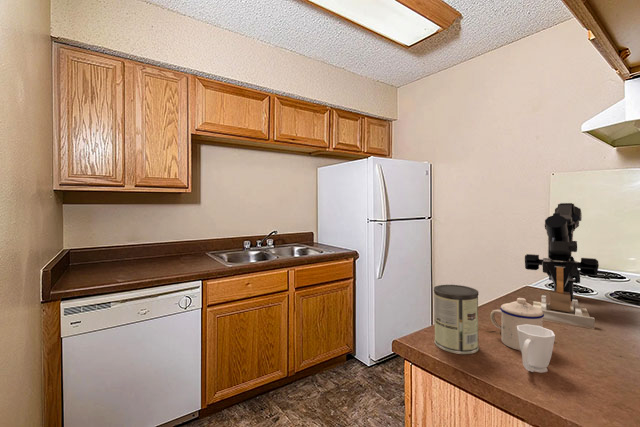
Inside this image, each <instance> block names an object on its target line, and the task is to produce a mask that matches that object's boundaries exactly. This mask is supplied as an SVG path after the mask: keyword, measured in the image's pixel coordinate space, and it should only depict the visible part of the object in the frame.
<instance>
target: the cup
mask: <svg viewBox="0 0 640 427" xmlns="http://www.w3.org/2000/svg"><path fill="white" fill-rule="evenodd" d="M517 331H518V336H519V343H520V349H521V351H520V353H521V357H522V358H521V359H522V365H523V368H524V369H525V370H526V371H529V372H531V373H533V372H534V373H535V372H536V373H540V374H541V373H547V372H548V368H547V367H548V366H549V365H550V361H551V359H552V356H553V355H552V354H553V350H554V344H555V340H556V339H555V338H556V335H555V332H554V331H553V330H551V329H549V328H546V327H541V326H535V325H528V324H525V325H518V326H517Z"/></svg>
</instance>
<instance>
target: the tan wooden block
mask: <svg viewBox="0 0 640 427" xmlns="http://www.w3.org/2000/svg"><path fill="white" fill-rule="evenodd" d="M571 300H572V299H571V295H570V292H563V267H557V291H554V289H551V290H549V304H550V309H554V310H561V311H567V312H571V307H572V305H571Z"/></svg>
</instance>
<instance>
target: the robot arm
mask: <svg viewBox="0 0 640 427" xmlns="http://www.w3.org/2000/svg"><path fill="white" fill-rule="evenodd" d="M582 217H583V216H582V209H581V208H580V207H578V206H576V205H575V203H572V202H560V203H558V204H557V207H555V208H554V213H553V214H552V215H550V216H548V217H546V218H545V219H544V229H545V231H546V234H547V239H548V240H547V241H548V243H547V244H548V246H547V257H543V258H542V259H540V254H533V253H532V254H531V253H527V254H525V255H524V267H525V269H526V270H527V271H529V270H530V271H538V270H539V269H540V266H542V273H544V274H547V276H548V280H549V281H552V283H553V290H554V291H557V267H563V292H570V295H571V300H572V299H574V300H576V297H575V294H574V284H580V283H581V274H582V275H585V276H595V277H596V276H597V275H598V271H599V265H600V264H599V260H598V259H597V258H591V257H581V258H580V262H579V261H576V260H575V257H574V256H572V253H577V252H578V241H577V240H574V232H575V230H576V229H577V228H579V226H580V222H581V221H582Z"/></svg>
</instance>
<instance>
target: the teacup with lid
mask: <svg viewBox="0 0 640 427" xmlns="http://www.w3.org/2000/svg"><path fill="white" fill-rule="evenodd" d="M496 313H497V314H501V320H500V322H501V325H500V324H499V323H498V322H497V321H496V318H495V316H496V315H495V314H496ZM489 317H490V321H491V323H492V325H493V326H495V328H497V329H499V330H500V331H501V338H500V339H501V342H502V343H503V344H504V345H505V346H506V347H508V348H510V349H513V350H516V351H519V352H521V349H520V343H519V336H518V331H517V326H518V325H525V324H528V325H535V326H541V327H543V326H544V320H543V317H544V314H543V312H542V310H540V309H539V308H536V307H534V306H533V304H531V303H529V302H527V299H526V298H523V297H518V298H516V301H511V302H508V303H503V304H501V305H500V308H499V309H494V310H491V312H490V316H489ZM543 328H544V327H543Z"/></svg>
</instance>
